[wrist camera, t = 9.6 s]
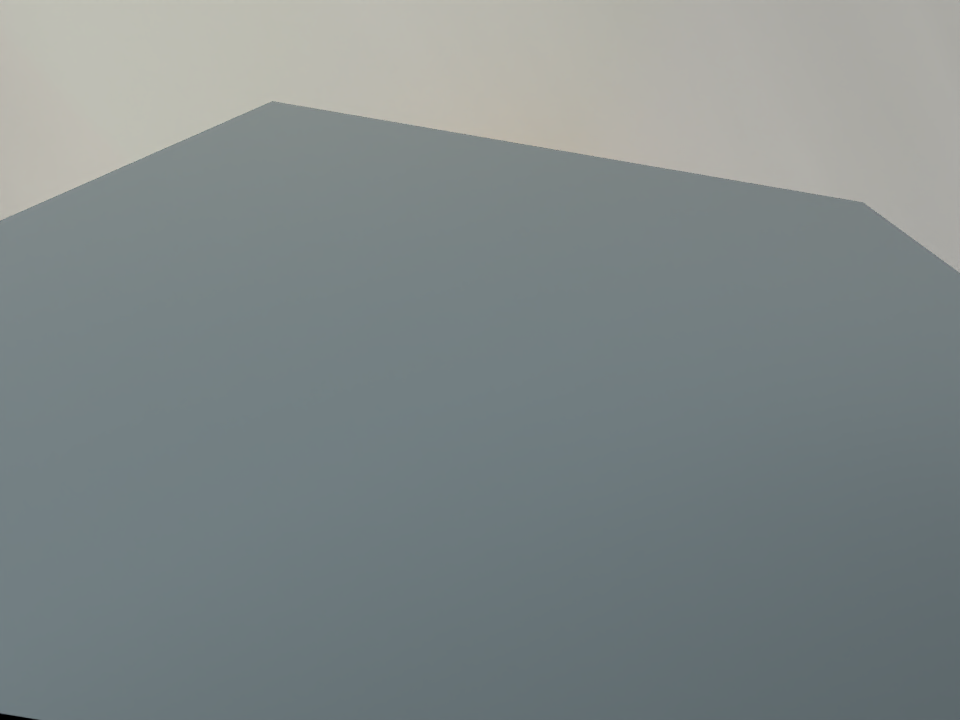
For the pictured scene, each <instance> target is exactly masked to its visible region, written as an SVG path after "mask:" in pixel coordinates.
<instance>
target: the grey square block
mask: <svg viewBox="0 0 960 720" xmlns="http://www.w3.org/2000/svg"><path fill="white" fill-rule="evenodd" d="M0 720H960V273H959V272H958V271H956V270H955V269H954V268H952V267H951V266H949V265H948V264H947V263H945V262H944V261H943V260H941V259H940V258H938V257H937V256H936V255H934V254H933V253H932V252H930V251H929V250H927V249H926V248H925V247H923V246H922V245H921V244H919V243H918V242H916V241H915V240H914V239H912V238H911V237H910V236H908V235H907V234H906V233H904V232H903V231H901V230H900V229H899V228H897V227H896V226H895V225H893V224H892V223H890V222H889V221H888V220H886V219H885V218H884V217H882V216H881V215H879V214H878V213H877V212H875V211H874V210H873V209H871V208H870V207H869V206H867V205H866V204H864V203H863V202H857V201H851V200H845V199H840V198H834V197H828V196H822V195H816V194H810V193H804V192H799V191H793V190H787V189H781V188H775V187H769V186H764V185H758V184H752V183H746V182H740V181H734V180H729V179H723V178H717V177H711V176H705V175H699V174H694V173H688V172H682V171H676V170H670V169H664V168H658V167H653V166H647V165H641V164H635V163H629V162H623V161H618V160H612V159H606V158H600V157H594V156H588V155H583V154H577V153H571V152H565V151H559V150H553V149H548V148H542V147H536V146H530V145H524V144H518V143H513V142H507V141H501V140H495V139H489V138H483V137H477V136H472V135H466V134H460V133H454V132H448V131H442V130H437V129H431V128H425V127H419V126H413V125H407V124H402V123H396V122H390V121H384V120H378V119H372V118H367V117H361V116H355V115H349V114H343V113H337V112H331V111H326V110H320V109H314V108H308V107H302V106H296V105H291V104H285V103H279V102H273V101H272V102H270V103H267V104H265V105H263V106H261V107H258V108H256V109H254V110H252V111H249V112H247V113H245V114H242V115H240V116H238V117H236V118H233V119H231V120H229V121H226V122H224V123H222V124H220V125H217V126H215V127H213V128H211V129H208V130H206V131H204V132H201V133H199V134H197V135H195V136H192V137H190V138H188V139H186V140H183V141H181V142H179V143H176V144H174V145H172V146H170V147H167V148H165V149H163V150H160V151H158V152H156V153H154V154H151V155H149V156H147V157H145V158H142V159H140V160H138V161H135V162H133V163H131V164H129V165H126V166H124V167H122V168H119V169H117V170H115V171H113V172H110V173H108V174H106V175H104V176H101V177H99V178H97V179H94V180H92V181H90V182H88V183H85V184H83V185H81V186H79V187H76V188H74V189H72V190H69V191H67V192H65V193H63V194H60V195H58V196H56V197H53V198H51V199H49V200H47V201H44V202H42V203H40V204H38V205H35V206H33V207H31V208H28V209H26V210H24V211H22V212H19V213H17V214H15V215H13V216H10V217H8V218H6V219H3V220H1V221H0Z"/></svg>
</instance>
